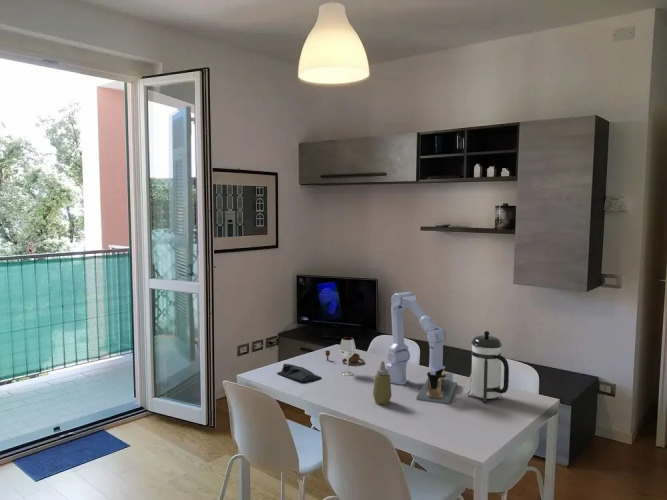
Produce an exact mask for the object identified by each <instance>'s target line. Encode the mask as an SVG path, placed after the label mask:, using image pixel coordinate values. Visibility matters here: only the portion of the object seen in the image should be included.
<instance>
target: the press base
mask: <svg viewBox="0 0 667 500" xmlns="http://www.w3.org/2000/svg"><path fill="white" fill-rule="evenodd" d="M457 386H458V382H456V381H454V373H449V372H445V377H441V393H440V395H439V396H437V395H430V394H429V377H428V376H427V379H426V381H425V382H424V384H423V385H422V387H421V389H420V391H419V392H418V394H417V395H416V397H415V398H416V400H418V401H426V402H431V403H438V404H446V405H449V404H450V402H451V400H452V397H453V395H454V393H455V391H456V388H457Z"/></svg>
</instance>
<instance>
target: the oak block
mask: <svg viewBox="0 0 667 500" xmlns="http://www.w3.org/2000/svg"><path fill="white" fill-rule="evenodd" d="M440 393H441V378H439V379H438V384H437V388H436V389H431V384H430V380H429V394H430V395H437V396H439V395H440Z"/></svg>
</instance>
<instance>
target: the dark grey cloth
mask: <svg viewBox="0 0 667 500" xmlns="http://www.w3.org/2000/svg"><path fill="white" fill-rule="evenodd" d="M276 375H281V376H282V377H285V378H287V379H290V380H293V381H296V382H300V383H304V382H309V381H319V380H321V379H322V377H321V376H319V375H317V374H315V373H313V371H310V370H308V369H307V368H305V367H303V366H298V365H295V364H290V363H283V365H282V368H281V370H280V371H279V372H276Z"/></svg>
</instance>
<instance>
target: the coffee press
mask: <svg viewBox="0 0 667 500" xmlns="http://www.w3.org/2000/svg"><path fill="white" fill-rule="evenodd" d="M483 334H484V335H477V336H474V337H473V338H472V340H471V343H470V344H471V346H472V347H471V355H470V356H471V358H470V359H471V361H470V370H471V375H470V389H469V391H468V393H467V397H472V396H473V395H474V396H475V397H477V398H480V399H482V400H483V404H487V401H488V400H487V399H489V400H492V399H496V398H497V399H499V400H500V401H502V400H504V399H503V398H504V397H503V395H502V394H505V393H506V392H507V391H508V389H509V381H510V379H509V377H510V375H509V374H510V369H509V368H510V366H509V363H508V361H507V360H508V359H506V358H505V357H504V356H503V355H502V350H501V349H502V347H503V344H502V342H501V340H500V339H499V338H498V337H495V336H493V335H491V334H490V331H488V330H485V331H484V332H483ZM502 364H503V388H501V377H502V376H501V374H502V373H501V372H502V371H501V370H502V369H501V368H502ZM470 393H471V394H470ZM499 396H500V397H501V398H500V397H499Z"/></svg>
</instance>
